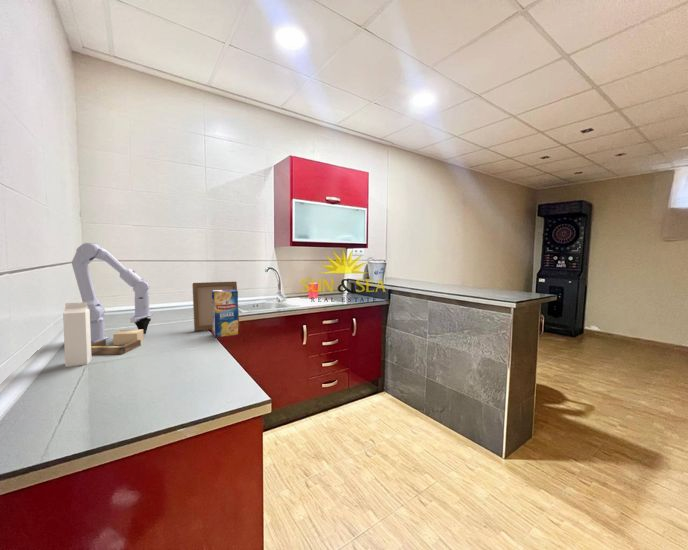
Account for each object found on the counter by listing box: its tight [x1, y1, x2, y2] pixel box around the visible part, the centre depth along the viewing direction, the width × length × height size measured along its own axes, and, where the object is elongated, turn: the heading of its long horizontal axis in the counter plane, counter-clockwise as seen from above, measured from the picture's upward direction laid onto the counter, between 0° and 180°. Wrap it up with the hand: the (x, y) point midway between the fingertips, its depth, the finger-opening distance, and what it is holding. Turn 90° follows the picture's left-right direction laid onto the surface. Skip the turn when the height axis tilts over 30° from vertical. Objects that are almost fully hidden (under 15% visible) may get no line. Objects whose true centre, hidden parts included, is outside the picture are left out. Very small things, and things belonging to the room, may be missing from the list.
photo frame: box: [192, 281, 240, 332], centre depth 162 cm, size 15×22×25 cm
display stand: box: [91, 339, 142, 355], centre depth 122 cm, size 16×12×3 cm
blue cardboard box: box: [211, 289, 239, 338], centre depth 148 cm, size 7×11×22 cm, turn 124°
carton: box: [112, 329, 145, 346], centre depth 133 cm, size 9×7×5 cm
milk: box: [62, 301, 92, 368], centre depth 106 cm, size 6×6×22 cm
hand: (142, 333), depth 143 cm, fingers closed
